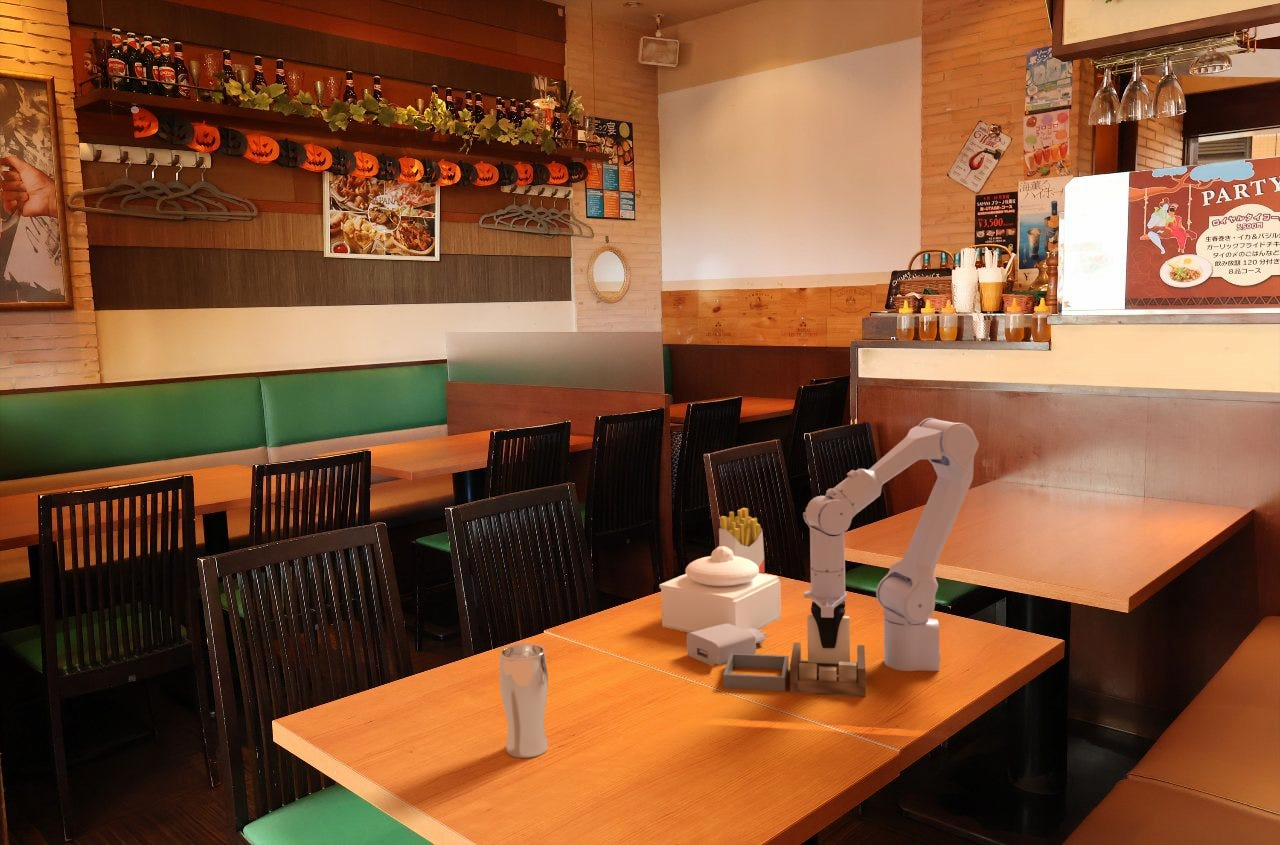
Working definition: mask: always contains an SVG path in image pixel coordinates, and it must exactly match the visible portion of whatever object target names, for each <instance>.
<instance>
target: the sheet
mask: <svg viewBox="0 0 1280 845" xmlns="http://www.w3.org/2000/svg"><path fill="white" fill-rule="evenodd" d="M806 616H807V617H806V620H807V621H806V622H807V625H806V626H807V629H806V630H807V632H806V633H807V660H808V663H833V664H839V662H851V649H850V648H851V646H850V645H851V641H850V638H851V637H850V636H851V635H850V616H849V615H844V616H843V618H842V620H841V622H840V625H839V629H838V635H837V641H836V646H835V648H823V647H822V644H821V640H820V635H819V630H818V626H817V623H816V621H815V619H814V617H813V615H812V614H807V615H806Z"/></svg>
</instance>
